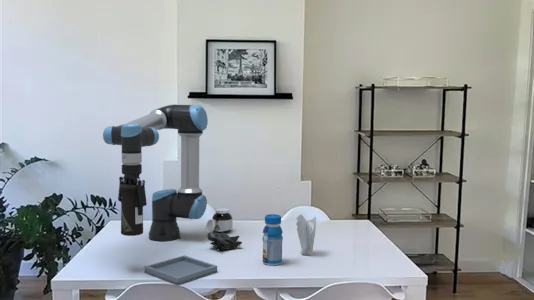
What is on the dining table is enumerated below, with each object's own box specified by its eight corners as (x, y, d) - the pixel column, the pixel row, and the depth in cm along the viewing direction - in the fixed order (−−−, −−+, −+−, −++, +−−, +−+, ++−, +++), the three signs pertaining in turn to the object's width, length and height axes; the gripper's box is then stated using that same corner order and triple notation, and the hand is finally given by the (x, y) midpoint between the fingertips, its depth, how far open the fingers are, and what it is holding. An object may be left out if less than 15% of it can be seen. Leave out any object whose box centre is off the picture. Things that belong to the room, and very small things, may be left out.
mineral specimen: (225, 243, 227) (221, 222, 232) (203, 254, 233) (200, 232, 238) (246, 248, 239) (242, 227, 243) (225, 257, 244) (221, 237, 249)
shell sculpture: (317, 252, 234) (318, 213, 233) (313, 257, 227) (314, 216, 225) (300, 250, 237) (300, 211, 235) (294, 255, 229) (295, 215, 228)
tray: (144, 272, 204) (144, 266, 204) (184, 261, 219) (184, 255, 219) (177, 285, 191) (177, 278, 191) (217, 272, 206) (217, 265, 206)
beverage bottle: (275, 267, 213) (276, 219, 211) (258, 263, 217) (258, 216, 215) (286, 261, 220) (286, 215, 218) (268, 258, 225) (269, 212, 223)
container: (122, 230, 209) (122, 181, 207) (145, 230, 209) (145, 181, 207) (118, 236, 200) (117, 184, 198) (142, 236, 201) (141, 184, 199)
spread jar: (234, 231, 268) (234, 209, 267) (221, 236, 259) (221, 213, 258) (216, 228, 275) (216, 206, 274) (202, 232, 265) (202, 210, 264)
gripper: (108, 162, 206) (108, 218, 208) (139, 167, 192) (140, 227, 195) (124, 160, 212) (125, 215, 214) (156, 165, 198) (156, 224, 200)
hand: (132, 221), depth 204 cm, fingers closed on container, 8 cm apart
